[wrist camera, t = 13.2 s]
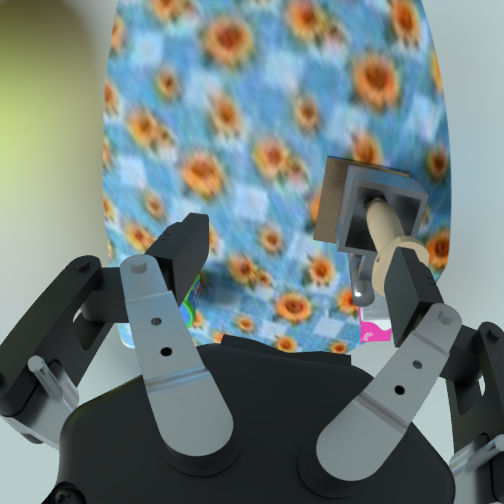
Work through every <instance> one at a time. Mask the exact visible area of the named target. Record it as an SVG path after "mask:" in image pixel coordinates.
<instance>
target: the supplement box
mask: <svg viewBox="0 0 504 504" xmlns="http://www.w3.org/2000/svg"><path fill="white" fill-rule="evenodd" d="M373 289H374V288H373ZM374 295H375V300H374V302H373V303H372V304H371V305H369V306H367V307H359V320H360V339H361V342H369V341H390V337H391V333H392V327H391V322H390V317H389V312H388V307H387V302H386V297H383V296H381V295H379V294H378V293H377V292H376V291H375V290H374Z"/></svg>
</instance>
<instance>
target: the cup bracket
mask: <svg viewBox="0 0 504 504" xmlns="http://www.w3.org/2000/svg"><path fill="white" fill-rule="evenodd" d="M375 196H379V197H380V198H381V199H385V200H387V201H388V203H389V204H390V206H391V207H392V208H393V209H394V211H395V212H396V214H397V216H398V218H399V220H400V223H401V225H402V228H403V231H404V234H405V236H411V237H414V238H416V236H417V233H418V230H419V227H420V224H421V221H422V218H423V214H424V211H425V208H426V205H427V201H428V198H429V194H428V193H427V192H426V190H425V189H424V188H423V187H422V186H421V184H420V183H419V182H418V181H417V180H416V179H413V178H409V174H408V173H407V172H403V171H399V170H394V169H390V168H386V167H381V166H376V165H372V164H367V163H362V162H357V161H352V160H346V159H341V158H335V157H330V156H327V160H326V167H325V173H324V179H323V185H322V191H321V197H320V203H319V209H318V214H317V220H316V225H315V231H314V236H313V240H318V241H324V242H330V243H336V244H337V251H340V252H346V253H348V260H349V269H350V278H351V287H352V298H353V303H354V304H355V305H356V306H358V307H367V306H369V305H371V304H372V303H373V302H374V300H375V295H374V289H373V285H372V273H373V266H374V263H375V259H376V257H377V255H378V252H377V249H376V246H375V244H374V242H373V239H372V237H371V234H370V232H369V228H368V224H367V217H366V212H367V208H366V203H367V202H368V201H371V200H373V199H374V198H375Z"/></svg>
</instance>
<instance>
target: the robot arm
mask: <svg viewBox="0 0 504 504" xmlns="http://www.w3.org/2000/svg"><path fill="white" fill-rule="evenodd" d="M208 252H209V217H208V215H206V214H199V213H189V214H188V216H187V217H186V218H185V219H184V220H183V221H182V222H176V223H174V224H172V225H170V226H169V227H167V228H166V230H165V231H164V232H163V233H162V234H161V235H160V236H159V237H158V240H156V241H155V242H154V243H153V244H152V245H151V247H150V248H149V249H148V250H147V251H146V252H145V253H144V254H139V255H134V256H131V257H128V258H127V259H125V260H124V261H123V262H122V263H121V265H120V267H110V268H102V266H101V262H100V260H99V258H97V257H95V256H91V255H86V256H81V257H78V258H76V259H74V260H73V261H71V262H70V263H69V264H68V265H67V266H66V267H65V269H64V270H63V271H62V272H61V273H60V274H59V275H58V276H57V277H56V278H55V280H54V281H53V282H52V283H51V284H50V285H49V286H48V287H47V288H46V290H45V291H44V292H43V293H42V294H41V295H40V296H39V298H38V299H37V300H36V301H35V302H34V303H33V305H32V306H31V307H30V308H29V309H28V311H27V312H26V313H25V314H24V316H23V317H22V318H21V320H19V322H18V323H17V324H16V326H15V327H14V328H13V329H12V331H11V332H10V333H9V335H8V336H7V337H6V339H5V340H4V341H3V343H2V344H1V345H0V416H1V417H2V418H3V419H4V420H5V421H6V422H7V423H8V424H9V425H10V426H11V427H13V428H14V429H15V430H16V431H17V432H19V433H20V434H22V435H23V436H24V437H25V438H26V439H28V440H29V441H30V442H32V443H35V444H41V443H46V444H48V445H50V446H51V447H53V448H55V449H57V450H59V454H60V458H59V472H58V477H57V481H56V484H55V486H54V488H53V490H52V492H51V493H50V494H49V495H48V497H47V498H46V499H45V500H44V501H43V502H42V503H41V504H504V332H503V331H502V329H500V327H498V326H497V325H496V324H494V323H491V322H483V323H482V324H481V325H480V326H479V328H478V330H475V329H472V328H469V327H467V326H464V325H462V319H461V316H460V315H459V313H458V312H457V311H456V310H455V309H454V308H452V307H451V306H448V305H446V304H444V302H443V299H442V296H441V294H440V292H439V289H438V287H437V286H436V282H435V280H434V278H433V275H432V273H431V271H430V269H429V268H428V267H427V266H426V265H425V264H424V263H423V262H420V261H419V259H418V256H417V254H416V252H415V250H414V249H411V248H406V247H400V246H397V247H396V249H395V251H394V254H393V257H392V260H391V263H390V265H389V268H388V271H387V274H386V277H385V281H384V293H385V297H386V302H387V307H388V312H389V317H390V322H391V327H392V332H393V338H394V344H395V347H398V348H399V349H398V350H397V351H396V353H395V354H394V355H393V356H392V358H391V359H390V360H389V361H388V363H387V364H386V365H385V366H384V367H383V368H382V370H381V371H380V372H379V373H378V375H377V376H376V377H375V378H374V377H373V376H371V375H370V374H369V373H367V372H365V371H364V370H362V369H360V368H358V367H356V366H353V365H351V355H346V354H338V353H330V352H323V351H315V352H296V353H287V352H283V351H281V350H278V349H276V348H273V347H270V346H268V345H265V344H263V343H260V342H258V341H255V340H251V339H245V338H240V337H235V336H231V335H226V334H224V335H223V338H222V341H221V343H213V344H205V345H200V346H197V347H195V345H194V342H193V340H192V338H191V335H190V333H189V331H188V329H187V326H186V324H185V322H184V319H183V317H182V314H181V312H180V310H179V308H180V306H181V304H182V302H183V301H184V299H185V297H186V295H187V293H188V292H189V290H190V288H191V286H192V284H193V283H194V281H195V279H196V277H197V276H198V274H199V272H200V270H201V269H202V267H203V265H204V263H205V262H206V260H207V257H208ZM79 308H80V309H81V313H80V314H79V315H78V317H77V318H76V319H75V321H74V323H73V318H74V316H75V314H76V312H77V311H78V310H79ZM114 323H130V328H131V332H132V337H133V341H134V345H135V349H136V353H137V357H138V361H139V364H140V368H141V372H142V374H141V375H139V376H138V377H136V378H134V379H132V380H130V381H128V382H126V383H124V384H122V385H120V386H118V387H116V388H114V389H112V390H110V391H108V392H106V393H104V394H102V395H100V396H98V397H96V398H94V399H92V400H90V401H88V402H86V403H84V404H82V405H80V406H79V407H77V405H78V402H79V393H78V390H77V389H76V388H77V386H78V384H79V383H80V381H81V379H82V377H83V375H84V374H85V372H86V370H87V368H88V366H89V364H90V363H91V361H92V359H93V358H94V356H95V354H96V352H97V351H98V349H99V347H100V346H101V344H102V342H103V340H104V339H105V337H106V336H107V334H108V332H109V331H110V329H111V327H112V326H113V324H114ZM482 375H483V378H484V382H485V391H484V394H483V396H482V394H481V390H480V385H479V381H478V380H479V379H480V378H481V377H482ZM439 376H440V377H442V378H445V379H446V385H447V392H448V398H449V405H450V412H451V422H452V431H453V442H454V455H453V457H452V458H451V460H450V462H449V466H448V465H447V463H446V462H445V461H444V460H443V458H442V457H441V456H440V455H439V454H438V452H437V451H436V450H435V449H434V447H433V446H432V445H431V444H430V443H429V441H428V440H427V439H426V438H425V437H424V436H423V434H422V433H421V432H420V431H419V429H418V428H417V427H416V426H415V425H414V423H413V422H412V420H413V418H414V416H415V415H416V413H417V412H418V410H419V409H420V407H421V406H422V404H423V402H424V401H425V399H426V397H427V396H428V394H429V392H430V391H431V389H432V387H433V385H434V384H435V382H436V380H437V378H438V377H439Z"/></svg>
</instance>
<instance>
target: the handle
mask: <svg viewBox="0 0 504 504" xmlns="http://www.w3.org/2000/svg"><path fill="white" fill-rule="evenodd" d="M366 208H367V212H366V217H367V224H368V228H369V232H370V234H371V237H372V239H373V242H374V244H375V246H376V249H377V252H378V255H377V257H376V259H375V263H374V266H373V273H372V285H373V288H374V290H375V291H376V292H377V293H378V294H379V295H381V296H383V297H385V293H384V281H385V277H386V274H387V271H388V268H389V265H390V263H391V260H392V257H393V254H394V251H395V249H396V247H397V246H400V247H406V248H411V249H414V250H415V252H416V254H417V256H418V259H419V261H420V262H423V263H424V264H425V265H426V266H427V267H428V262H429V256H430V255H429V253H428V251H427V249H426V247H425V246H424V244H423V243H422V242H421V241H420V240H418V239H416V238H414V237H411V236H405V234H404V231H403V228H402V225H401V223H400V220H399V218H398V216H397V214H396V212H395V211H394V209H393V208H392V207H391V206H390V204H389V203H388V201H387V200H385V199H381V198H380V197H379V196H375V198H374V199H373V200H371V201H368V202H367V203H366Z"/></svg>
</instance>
